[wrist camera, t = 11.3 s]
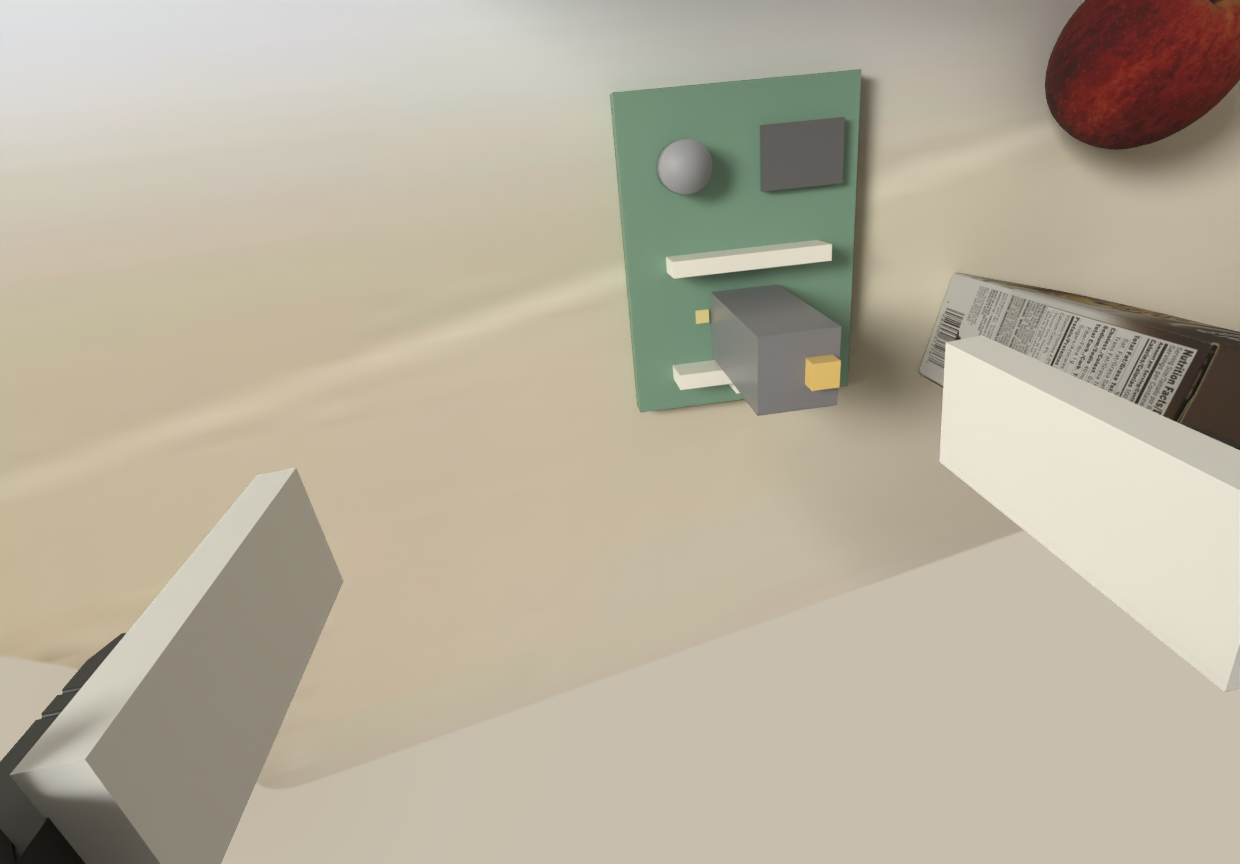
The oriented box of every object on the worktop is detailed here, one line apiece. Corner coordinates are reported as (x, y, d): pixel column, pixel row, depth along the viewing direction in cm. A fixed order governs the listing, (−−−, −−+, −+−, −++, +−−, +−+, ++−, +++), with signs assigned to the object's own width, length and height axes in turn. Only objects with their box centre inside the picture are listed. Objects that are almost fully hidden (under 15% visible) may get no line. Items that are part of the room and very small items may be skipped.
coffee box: (1090, 293, 39) (1433, 375, 24) (1045, 396, 41) (1334, 529, 26) (951, 267, 37) (1226, 338, 22) (913, 376, 39) (1139, 506, 25)
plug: (710, 292, 35) (763, 342, 27) (777, 284, 35) (849, 332, 27) (712, 357, 36) (763, 423, 28) (776, 349, 36) (844, 412, 29)
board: (610, 95, 32) (617, 88, 29) (850, 72, 33) (880, 63, 30) (637, 405, 38) (645, 424, 35) (838, 379, 39) (862, 396, 36)
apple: (1181, 13, 34) (1363, -29, 26) (1098, 170, 36) (1243, 172, 29) (1064, -46, 32) (1223, -108, 25) (986, 123, 34) (1108, 113, 27)
